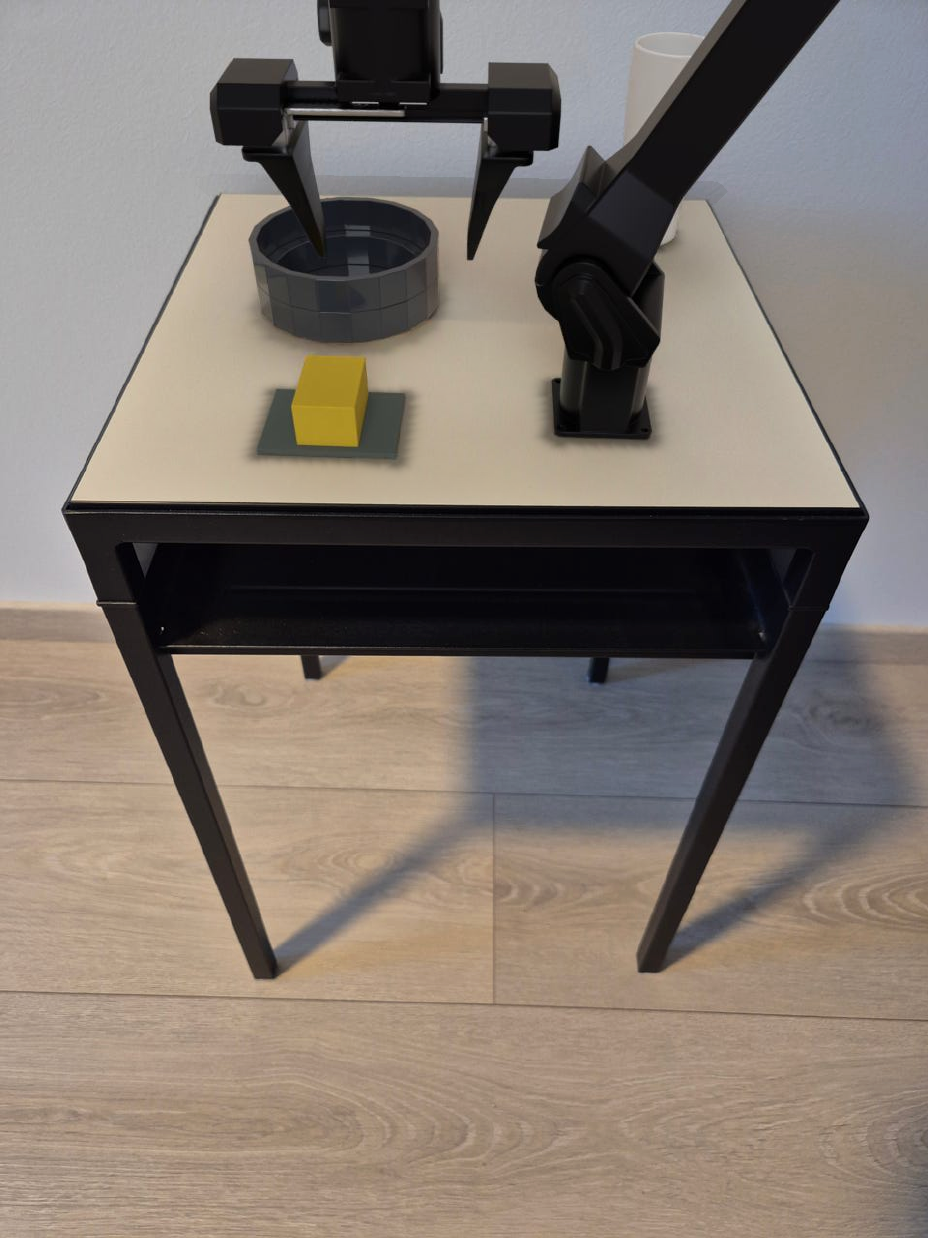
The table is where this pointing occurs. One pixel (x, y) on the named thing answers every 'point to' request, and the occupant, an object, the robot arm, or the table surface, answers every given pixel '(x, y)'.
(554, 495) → the table surface
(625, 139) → the white cup
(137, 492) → the table surface
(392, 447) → the mat
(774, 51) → the robot arm
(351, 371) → the sponge
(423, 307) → the bowl
